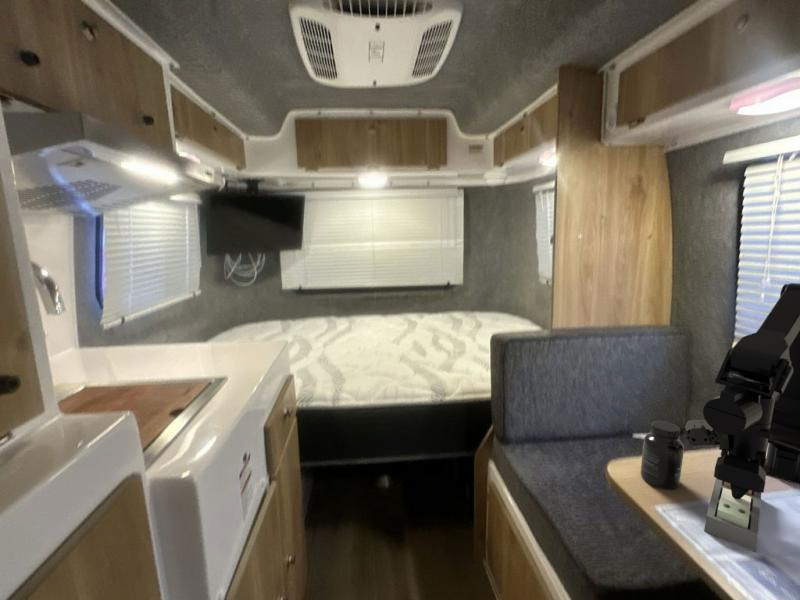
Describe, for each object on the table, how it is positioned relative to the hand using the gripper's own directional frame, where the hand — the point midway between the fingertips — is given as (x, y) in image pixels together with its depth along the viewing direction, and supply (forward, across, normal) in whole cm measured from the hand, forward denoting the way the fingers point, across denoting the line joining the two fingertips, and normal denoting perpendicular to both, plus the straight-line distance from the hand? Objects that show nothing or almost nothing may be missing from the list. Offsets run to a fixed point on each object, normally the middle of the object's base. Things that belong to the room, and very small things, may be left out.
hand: (736, 497), depth 72 cm
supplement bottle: (+4, -2, -12) cm, 13 cm away
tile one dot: (+3, 0, 0) cm, 3 cm away
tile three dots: (+2, -5, 0) cm, 6 cm away
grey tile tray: (+3, 0, 0) cm, 3 cm away
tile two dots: (+2, +6, 0) cm, 6 cm away
